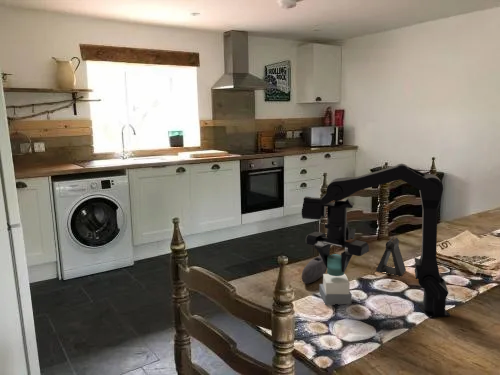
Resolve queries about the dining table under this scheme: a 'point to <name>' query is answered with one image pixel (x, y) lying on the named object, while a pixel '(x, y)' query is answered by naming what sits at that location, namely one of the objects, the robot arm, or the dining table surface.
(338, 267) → the teal short cylinder
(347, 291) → the off-white top block
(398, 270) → the grey a-frame stand
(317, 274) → the perforated stone tool
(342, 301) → the slate base block
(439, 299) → the robot arm
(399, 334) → the dining table surface
